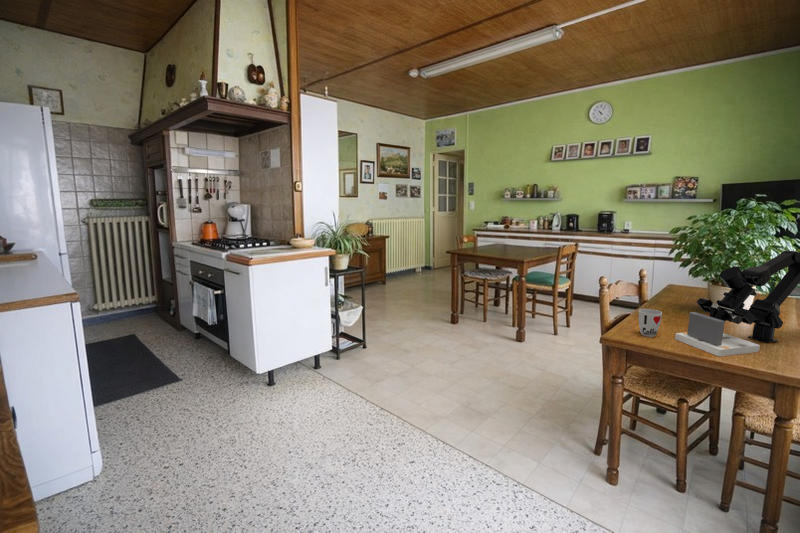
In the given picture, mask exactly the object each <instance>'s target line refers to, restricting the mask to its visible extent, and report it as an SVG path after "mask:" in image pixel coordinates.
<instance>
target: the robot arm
mask: <svg viewBox="0 0 800 533" xmlns="http://www.w3.org/2000/svg"><path fill="white" fill-rule="evenodd" d="M785 268H787V272H786V273H785V274H784V275H783V277H782V278H781V279H780V280H779V282H778V283H777V284H776V285H775V286H774V288H773V289H772V290H771V291H770V292H769V293H768V295H767V296H765V298H764V299H760V298H757V299H755V300H754V301H753V302H752V304H751V305H750V306H749V308H748V309H747V308H744V307H745V306H746V305H745V301H747V299H748V298H749V297H750V296H753V297H756V296H757V292H756V288H754V287H752V286H755V287H760V288H761V287H763V286H765V285H767V284H768V282H770V281H771V277H772V276H773V275H775V274H776V273H778V272H780V271H782V270H784V269H785ZM719 277H720V279H721V280H722V282H723V283H724V284H725V285H726V288H728V289H730V290H729V291H728V292H726V291H724V293H723V297H722V299H720V300H719V299H718V300H716V302H715V303H713V301H712V300H711V299H708V298H704V297H699V298H698V299H697V300H696V301H695V303H696V304H697V305H698V306H699V307H700V309H701V310H702V311H703V312H706V313H709V315H708V316H709V317H713V318H716V319H719V320H723V321H725V322H727V321H728V322H730V323H733V324H736V325H739V324H741V323H744V324H748V325H752V324H753V329H752V335H748V336H747V338H749V339H751V340H755V341H758V342H760V343H764V344H767V343H768V344H769V343H774V342H778V341H779V340H778V339H776V338H774V337H775V330H777V329H778V330H779V329H780V328H782V327H783V324H784V322H783V320H782V319H781V317H780V315H781V308H780V306H781V305H782V304H783V303H784V302H785V301H786V299H787V298H788V297H789V296H790V294H792V293H793V291H794V290H795V289H796V288H797V286H798V285H799V284H800V251H797V250H795V251H794V250H788V249H785V250H783V251H781V253H780V254H779V255H777V256H774V257H773V258H771V259H770V260H769V259H768V261H766V262H764V263H763V264H760V265H757V266H751V267H748V268H745V269H743V270H741V268H740V267H739V266H735V265H733V266H732V267H729V268H725V269H724V270H721V271H720V273H719Z"/></svg>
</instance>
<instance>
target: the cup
mask: <svg viewBox="0 0 800 533" xmlns="http://www.w3.org/2000/svg"><path fill="white" fill-rule="evenodd" d="M662 316H663V312H662V311H661V310H657V309H652V308H640V309H638V326H639V328H638V329H639V331H640V334H641V336H644V337H649V338H653V337H654V336H655V337H656V335H657V334H658V332H659V328H660V326H661V322H662Z"/></svg>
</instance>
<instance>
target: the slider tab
mask: <svg viewBox="0 0 800 533" xmlns="http://www.w3.org/2000/svg"><path fill="white" fill-rule="evenodd" d="M688 315H689V317H688V326H687V332H688V333H687V335H690V336H693V337H695V338H698V339H701V340H703V341H706V342H709V343H712V344H714V345H722V337H723V333H724V328H725V324H726V321H723V320H719V319H716V318H713V317H709V316H710V315H706V314H702V313H700V312H695V311H693V312H692V311H691V312H689V313H688Z"/></svg>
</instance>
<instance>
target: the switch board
mask: <svg viewBox="0 0 800 533" xmlns="http://www.w3.org/2000/svg"><path fill="white" fill-rule="evenodd" d="M687 333H688V331H685V332H676V333H675V337H674V339H675V341H678V342H681V343H684V344H687V345H689V346H691V347H694V348H696V349H699V350H701V351H704V352H707V353H709V354H712V355H714V356H716V357H726V356H728V357H729V356H733V355H734V356H735V355H742V354H743V355H744V354H752V353H758V352H760V347H761V346H760V344H757V343H754V342H752V341H749V340H745V339H743V338H739V337H737V336H733V335H730V334H727V333H725V332H723V337H722V345H714V344H712V343H709V342H706V341H703V340H701V339H698V338H695V337H693V336H690V335H687Z"/></svg>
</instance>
